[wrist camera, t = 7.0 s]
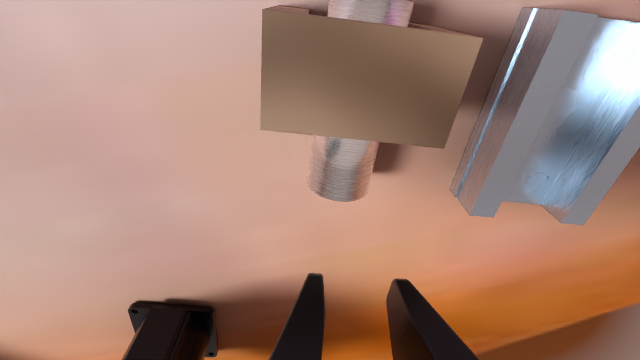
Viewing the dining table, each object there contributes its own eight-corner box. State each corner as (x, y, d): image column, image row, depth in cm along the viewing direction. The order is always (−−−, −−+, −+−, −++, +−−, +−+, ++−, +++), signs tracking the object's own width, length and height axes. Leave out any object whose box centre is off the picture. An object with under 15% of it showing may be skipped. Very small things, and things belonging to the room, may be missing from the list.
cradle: (554, 199, 20) (585, 225, 17) (449, 189, 19) (467, 215, 17) (661, 26, 14) (725, 32, 12) (522, 7, 14) (562, 9, 12)
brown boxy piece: (409, 108, 16) (443, 148, 12) (275, 93, 16) (260, 129, 11) (432, 25, 14) (483, 38, 10) (278, 5, 14) (262, 9, 9)
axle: (358, 169, 19) (376, 201, 16) (303, 167, 18) (311, 201, 15) (394, 0, 14) (429, 3, 11) (323, -10, 13) (340, -10, 11)
